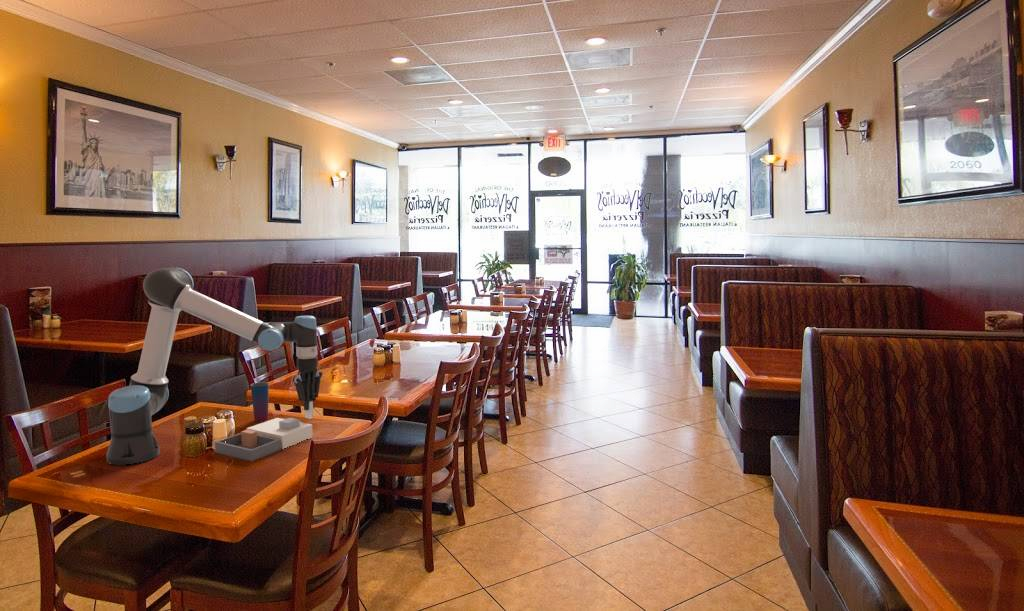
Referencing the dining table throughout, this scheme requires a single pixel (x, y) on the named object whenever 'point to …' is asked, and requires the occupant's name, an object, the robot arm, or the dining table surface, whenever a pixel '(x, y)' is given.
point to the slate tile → (289, 423)
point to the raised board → (283, 432)
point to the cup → (260, 400)
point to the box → (251, 454)
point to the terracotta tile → (249, 438)
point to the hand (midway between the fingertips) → (309, 417)
